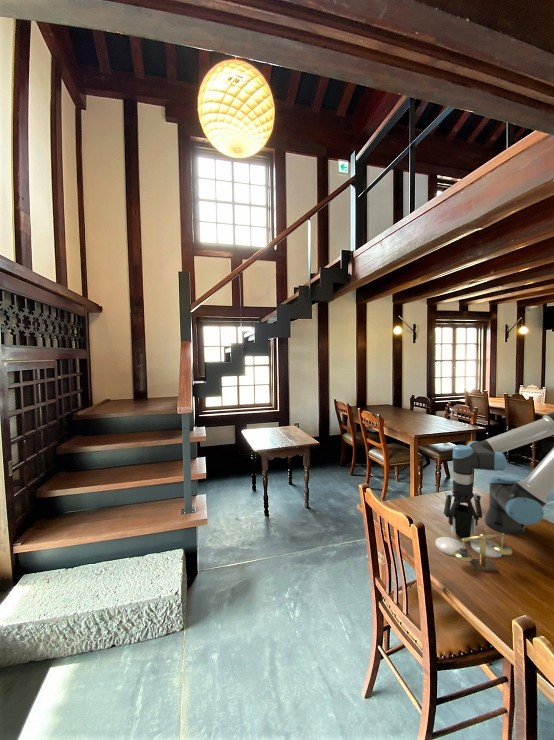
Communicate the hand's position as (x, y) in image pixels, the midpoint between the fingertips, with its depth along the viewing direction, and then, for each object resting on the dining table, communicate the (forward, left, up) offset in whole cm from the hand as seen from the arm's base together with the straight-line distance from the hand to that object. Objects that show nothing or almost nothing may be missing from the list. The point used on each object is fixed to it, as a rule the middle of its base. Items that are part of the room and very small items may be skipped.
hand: (462, 531), depth 138 cm
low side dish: (+9, +9, -2) cm, 13 cm away
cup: (0, 0, -1) cm, 1 cm away
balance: (+2, +20, -2) cm, 20 cm away
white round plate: (-5, +9, -2) cm, 10 cm away
